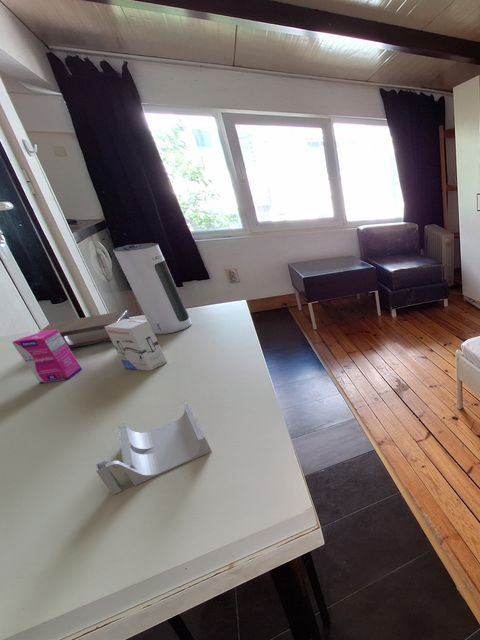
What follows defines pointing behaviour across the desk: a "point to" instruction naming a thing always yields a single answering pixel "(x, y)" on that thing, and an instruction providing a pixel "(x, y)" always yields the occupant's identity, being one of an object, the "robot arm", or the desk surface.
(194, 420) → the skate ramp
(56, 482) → the desk surface
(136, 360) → the ink box
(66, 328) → the rack
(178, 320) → the speaker
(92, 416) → the desk surface
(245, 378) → the desk surface
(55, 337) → the supplement box
